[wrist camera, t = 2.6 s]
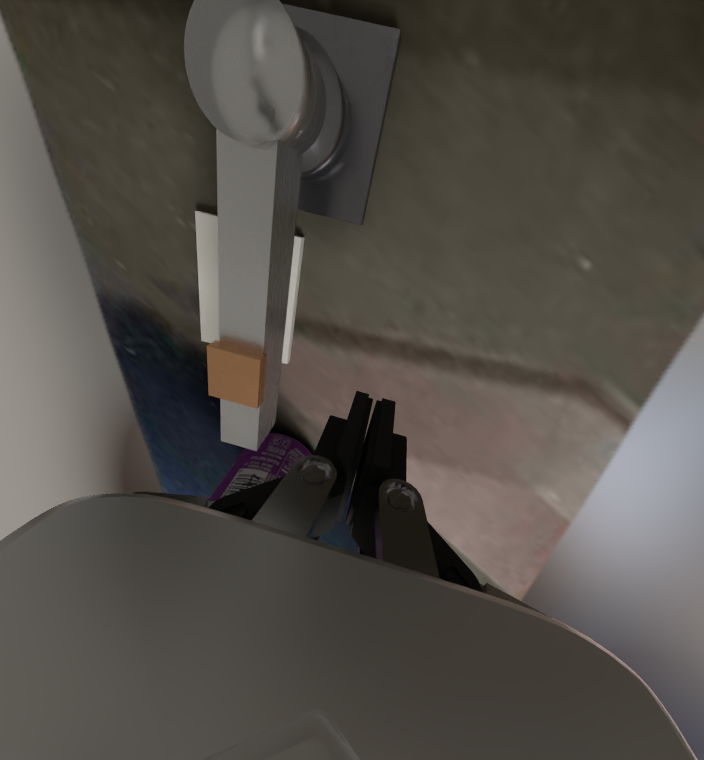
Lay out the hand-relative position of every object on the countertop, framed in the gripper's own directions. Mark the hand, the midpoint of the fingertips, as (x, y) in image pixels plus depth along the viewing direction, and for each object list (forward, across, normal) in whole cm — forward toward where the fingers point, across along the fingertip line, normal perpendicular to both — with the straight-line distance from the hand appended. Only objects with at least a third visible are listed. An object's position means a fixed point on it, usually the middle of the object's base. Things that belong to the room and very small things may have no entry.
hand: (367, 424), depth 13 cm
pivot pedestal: (+10, +7, -11) cm, 16 cm away
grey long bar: (+6, +7, -3) cm, 10 cm away
